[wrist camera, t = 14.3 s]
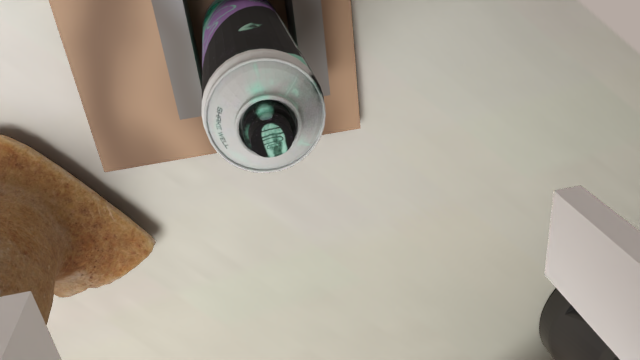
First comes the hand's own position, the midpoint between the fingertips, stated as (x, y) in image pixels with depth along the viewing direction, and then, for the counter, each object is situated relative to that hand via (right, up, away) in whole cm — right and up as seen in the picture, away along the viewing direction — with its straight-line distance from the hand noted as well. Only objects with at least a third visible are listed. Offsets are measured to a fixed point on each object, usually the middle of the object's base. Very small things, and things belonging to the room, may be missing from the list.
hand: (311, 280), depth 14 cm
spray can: (-5, +13, +25) cm, 29 cm away
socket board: (-8, +13, +27) cm, 31 cm away
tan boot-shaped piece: (-23, 0, +31) cm, 38 cm away
